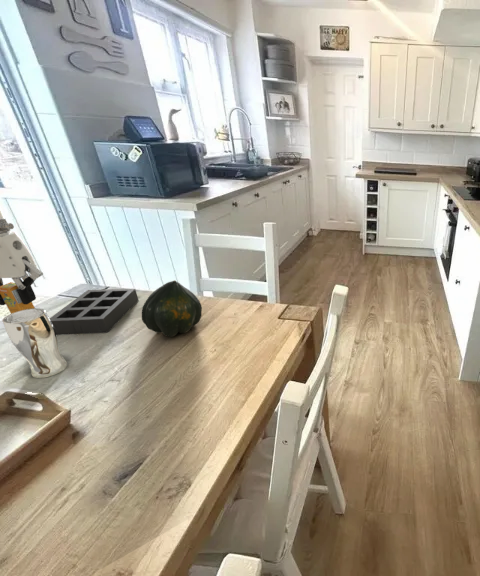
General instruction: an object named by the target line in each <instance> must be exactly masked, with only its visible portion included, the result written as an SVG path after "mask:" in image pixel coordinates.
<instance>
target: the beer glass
mask: <svg viewBox="0 0 480 576" xmlns="http://www.w3.org/2000/svg"><path fill="white" fill-rule="evenodd" d="M50 318H51V317H49V315H48V313H47V311H46V309H44V308H40V307H37V308H36V307H35V308H32V309H26V310H21V311H17V312H14V313H12V314H11V313H10V314H8V315H5V316H4V317H3V318H2V324H3V326H4V329H5V331H6V335H7V336H8V338H9V340H10V342H11V343H12V345H13V346H14V348H15V349H16V350H17V351H18V353H20V354H21V355H22V356H23V357H24V359H26V361H27V363H28V365H29V368H30V373H31V376H32V378H35V379H44V378H49V377H53V376H56V375H58V374H60V373H61V372H63V371H64V370H65V369H66V368H67V367H68V362H67V361H66V359H65V357H63V355H62V354H61V352H60V348H59V343H58V337H57V336H58V335H56V332H55V329H54V326H53V324H52V322H51V320H50Z"/></svg>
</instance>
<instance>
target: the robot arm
mask: <svg viewBox="0 0 480 576" xmlns="http://www.w3.org/2000/svg"><path fill="white" fill-rule="evenodd" d="M14 228H15V226H14V224H13V223H12V222H8V221H7V220H6V217H5V215H4V212H3V210H2V207H0V286H2V285H4V280H3V279H9V278H10V279H11V280H12V281H13V283H15V284H16V285H17V286H18V288H19V289H18V290H17V292H18V294H19V296H20V299H21V301H22V303H23V304H29V303H31V302H32V303H33V302H34V301H35V300H36V299H37V297H36V293H35V291H34V289H33V287H32V285H33V284H34V282H35V281H36V280H37V279H38V278H40V277H42V276H43V275H44V272H42V271H41V270H40V269H39V268H38V266H37V264H36V261H35V259H34V257H33V255H32V253H31V252H30V250H29V248H28V247H27V245H26V243H25V242H24V240H23V239H22V238H21V236H20V235H19V234H18V233H17V232H16V231H11V230H14ZM29 274H30V275H29ZM5 305H6V304H5V302H4V300H3V298H2V296H1V294H0V306H5Z"/></svg>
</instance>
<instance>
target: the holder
mask: <svg viewBox="0 0 480 576" xmlns="http://www.w3.org/2000/svg"><path fill="white" fill-rule="evenodd" d="M138 302H140V301H139V297H138V293H137V290H136V288H110V289H107V288H105V289H87V290H86V291H85V292H83V293H82V294H80V295H79V296H78V297H76V298H75V299H73V300H71V302H70V303H68V304H66V305H65V306H64V307H63V308H62V309H60V310H59V311H57V312H56V313H54V314H53V315H52V316H51V317H49V318H50V320H51V322H52V324H53V326H54V329H55V332H56V336H65V335H82V334H83V335H85V334H87V335H88V334H102V333H103V334H104V333H109V332H110V331H111V330H112V329H113V328H114V327H115V326H116V325H117V324H118V322H119V321H121V319H122V318H123V317H125V315H127V313H128V312H130V310H131V309H132V308H133V307H134V306H135V305H136V304H137V303H138Z"/></svg>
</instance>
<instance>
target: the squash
mask: <svg viewBox="0 0 480 576" xmlns="http://www.w3.org/2000/svg"><path fill="white" fill-rule="evenodd" d="M202 311H203V308H202V303H201V301H200V300H199V298H198V297H197V296H196V294H194V292H192V291H191V290H190V289H188V288H186V287H185V286H184V285H182V284H181V283H180V282H178V281H177V280H170V281H168V282H165V283H164V284H163V285H161V286H160V287H157V288H156V289H155V290H154V291H153V292H152V293H150V294H149V295H148V297H147V299H146V300H145V302H144V303H143V305H142V308H141V321H142V323H143V324H144V325H145V326H146V328H147V329H148V330H151V331H152V332H153V333H159V334H160V333H162V334H163V335H164V336H166V337H168V338H169V337H170V338H173V337H175V336H177V335H178V333H180V334H185V333H188V332H189V331H190V330H191V329H192V327H194V326H196V325H197V324H199V322H200V320H201V318H202Z"/></svg>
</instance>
